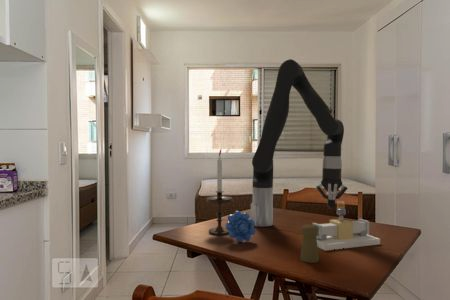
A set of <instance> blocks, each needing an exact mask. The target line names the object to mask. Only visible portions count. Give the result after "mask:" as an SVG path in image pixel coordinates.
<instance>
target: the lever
mask: <svg viewBox="0 0 450 300" xmlns="http://www.w3.org/2000/svg"><path fill="white" fill-rule="evenodd" d="M345 204H346V203H345V201H344V200H343V201H342V200H337V201H336V215H337V216H339V215H343V216H346V214H347V213H346V207H345V206H346V205H345Z"/></svg>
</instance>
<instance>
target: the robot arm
mask: <svg viewBox="0 0 450 300" xmlns="http://www.w3.org/2000/svg"><path fill="white" fill-rule="evenodd" d="M292 88H294V89H295V90H296V92H298V94H299V95H300V96H301V99H302V101H303V102H304V104H305V106H306V107H307V109H308V110H309V112H310V113H311V115H312V116H313V117H314V118H315V120H316V123H317V125H318V127H319V128H320V130H321V132H322V133H323V134H325V135H326V136H327V137H326V141H325V143H324V144H323V153H322V154H323V159H322V174H321V177H322V178H321V179H322V180H321V181H320V184H318V185H316V186H315V187H316V188H315V189H317V191H318V192H319V194H321V196H322V197H323V198H324V199H326V200H327V204H326V205H327V208H328V209H330V210H334V209H335V208H336V200H339V199H340V198H341V197H342V196H343V195H344V194H345V193H346V191H347V190H348V187H347V186H345V185H344V184H343V181H342V165H343V164H342V143H343V139H344V135H345V126H344V123H343V122H342V121H341V120H339V119H335V118H334V116H333V115H332V114H331V110H330V107H329V106H328V105H327V104H326V102H325V101H324V99H323V98H322V96H320V94H319V93H318V92H317V91H316V90H315V88H314V87H313V86H312V84H311V83H310V81H309V79H308V77H307V76H306V74H305V72H304V70H303V67H302V66H301V65H300V64H299V63H298V62H297V61H296V60H294V59H291V58H288V59H286V60H284V61H283V62H282V63H281V64H280V66H279V68H278V72H277V77H276V81H275V86H274V91H273V93H272V97H271V99H270V103H269V107H268V109H267V112H266V116H265V119H264V123H263V127H262V131H261V137H260V139H259V143H258V145H257V148H256V150H255V152H254V155H253V156H252V160H251V164H252V168H253V169H252V171H253V174H252V202H251V203H250V219H253V220H254V222H255V225H254V226H255V227H261V228H263V227H271V226H273V224H274V222H273V221H274V219H273V217H274V211H273V210H274V208H273V207H274V203H273V202H274V200H273V199H274V198H273V197H274V191H273V190H274V154H275V151H276V147H277V144H278V141H279V140H280V137H281V136H282V133H283V131H284V129H285V126H286V122H287V120H288V116H289V114H290V113H289V112H290V95H291V89H292ZM323 188H324V190H325V191H326V193H325V192H324V190H323ZM338 190H339V191H338ZM337 191H338V192H337ZM254 226H253V227H254Z"/></svg>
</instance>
